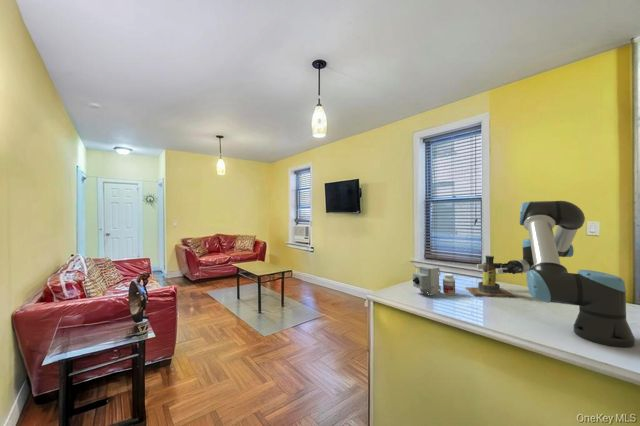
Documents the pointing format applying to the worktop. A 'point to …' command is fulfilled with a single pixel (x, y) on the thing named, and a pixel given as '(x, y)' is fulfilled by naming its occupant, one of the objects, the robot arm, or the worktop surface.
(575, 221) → the robot arm
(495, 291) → the bottle holder
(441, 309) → the worktop surface
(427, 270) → the circuit breaker
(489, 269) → the sauce bottle
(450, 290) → the pill bottle
